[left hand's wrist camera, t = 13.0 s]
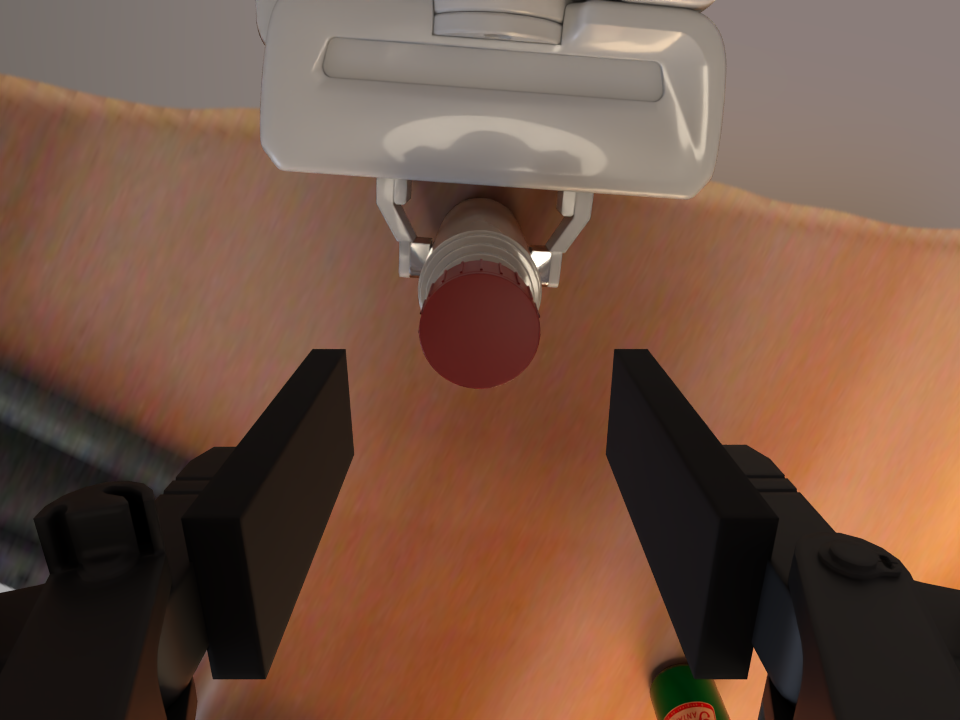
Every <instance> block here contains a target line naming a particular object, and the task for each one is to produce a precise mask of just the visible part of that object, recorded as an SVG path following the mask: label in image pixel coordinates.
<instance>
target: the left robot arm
mask: <svg viewBox="0 0 960 720" xmlns="http://www.w3.org/2000/svg"><path fill="white" fill-rule="evenodd" d="M353 456H354V446H353V434H352V422H351V409H350V397H349V385H348V372H347V360H346V349H312V351H311V352H310V353H309V354H308V356H307V357H306V358H305V360H304V361H303V362H302V363H301V365H300V366H299V367H298V369H297V370H296V371H295V372H294V374H293V375H292V376H291V378H290V379H289V380H288V381H287V383H286V384H285V385H284V386H283V388H282V389H281V390H280V392H279V393H278V394H277V395H276V397H275V398H274V399H273V401H272V402H271V403H270V404H269V406H268V407H267V408H266V410H265V411H264V412H263V413H262V415H261V416H260V417H259V419H258V420H257V421H256V422H255V424H254V425H253V426H252V428H251V429H250V430H249V431H248V433H247V434H246V435H245V437H244V438H243V439H242V440H241V442H240V443H239V444H238V445H237V447H213V448H211V449H210V450H208V451H206V452H205V453H203V454H201V455H200V456H198V457H196V458H194V459H193V460H191V461H190V462H189V463H188V464H187V465H186V466H185V468H184V469H183V470H182V471H181V472H180V473H179V474H178V475H177V477H176V481H172V482H171V483H170V484H169V486H168V487H167V488H166V489H165V490H164V494H163V495H160V496H159V497H158V498H157V499H156V500H155V498H154V494H153V490H152V489H150V488H149V487H148V486H146V485H145V484H143V483H137V482H132V481H117V482H106V483H101V484H97V485H92V486H88V487H84V488H82V489H79V490H76V491H74V492H71V493H69V494H66V495H64V496H62V497H60V498H58V499H57V500H55V501H53V502H52V503H50V504H48V505H47V506H45V507H44V508H43V509H42V510H41V511H40V512H39V513H38V514H37V515H36V516H35V518H34V522H35V526H36V529H37V532H38V536H39V539H40V542H41V546H42V549H43V552H44V556H45V559H46V562H47V566H48V569H49V572H50V575H49V577H48V579H47V581H46V583H45V584H41V585H37V586H32V587H27V588H22V589H17V590H13V591H8V592H3V593H0V720H195V716H196V709H197V695H196V689H195V684H194V679H193V674H194V673H195V671H196V669H197V667H198V665H199V663H200V661H201V659H202V657H203V656H204V654H205V652H206V650H207V652H208V657H209V662H210V667H211V672H212V677H213V679H266V677H267V675H268V672H269V670H270V667H271V664H272V662H273V659H274V657H275V654H276V652H277V649H278V647H279V644H280V642H281V639H282V636H283V634H284V631H285V629H286V626H287V624H288V621H289V619H290V616H291V614H292V611H293V609H294V606H295V603H296V601H297V598H298V596H299V593H300V591H301V588H302V586H303V583H304V581H305V578H306V575H307V573H308V570H309V568H310V565H311V563H312V560H313V558H314V555H315V553H316V550H317V548H318V545H319V542H320V540H321V537H322V535H323V532H324V530H325V527H326V525H327V522H328V520H329V517H330V514H331V512H332V509H333V507H334V504H335V502H336V499H337V497H338V494H339V492H340V489H341V487H342V484H343V481H344V479H345V476H346V474H347V471H348V469H349V466H350V464H351V461H352V459H353ZM606 456H607V459H608V461H609V464H610V466H611V469H612V471H613V474H614V476H615V479H616V481H617V484H618V487H619V489H620V492H621V494H622V497H623V499H624V502H625V504H626V507H627V509H628V512H629V514H630V517H631V520H632V522H633V525H634V527H635V530H636V532H637V535H638V537H639V540H640V542H641V545H642V548H643V550H644V553H645V555H646V558H647V560H648V563H649V565H650V568H651V570H652V573H653V575H654V578H655V581H656V583H657V586H658V588H659V591H660V593H661V596H662V598H663V601H664V603H665V606H666V609H667V611H668V614H669V616H670V619H671V621H672V624H673V626H674V629H675V631H676V634H677V636H678V639H679V642H680V644H681V647H682V649H683V652H684V654H685V657H686V659H687V662H688V664H689V667H690V670H691V672H692V675H693V677H694V679H747V677H748V672H749V667H750V662H751V657H752V652H753V647H754V649H755V651H756V652H757V654H758V656H759V658H760V660H761V662H762V664H763V666H764V667H765V669H766V671H767V673H768V675H767V679H766V684H765V689H764V693H763V698H762V702H761V707H760V712H759V716H758V720H960V590H956V589H952V588H947V587H942V586H937V585H932V584H927V583H922V582H918V581H914V580H913V578H912V576H911V574H910V573H909V571H908V570H907V569H906V568H905V566H904V565H903V564H902V563H901V561H900V560H899V559H897V558H896V557H894V556H893V555H892V554H890V553H889V552H887V551H886V550H884V549H883V548H881V547H879V546H877V545H875V544H872V543H870V542H868V541H866V540H864V539H861V538H857V537H854V536H850V535H846V534H842V533H836V532H835V531H834V530H833V529H832V528H831V527H830V525H829V524H828V523H827V522H826V521H825V520H824V519H823V518H822V517H821V515H820V514H819V513H818V512H817V511H816V510H815V509H814V508H813V506H812V505H811V504H810V503H809V502H808V501H807V500H806V499H805V497H804V496H803V495H802V494H801V493H800V492H797V489H796V487H795V486H794V485H793V484H792V483H791V482H790V481H789V480H788V478H785V475H784V474H783V473H782V472H781V471H780V470H779V468H778V467H777V466H776V465H775V464H774V463H773V462H772V461H771V459H769V458H768V457H766V456H764V455H763V454H761V453H759V452H757V451H756V450H754V449H752V448H751V447H749V446H747V445H722V444H721V443H720V442H719V440H718V439H717V438H716V437H715V435H714V434H713V433H712V431H711V430H710V429H709V428H708V426H707V425H706V424H705V422H704V421H703V420H702V419H701V417H700V416H699V415H698V413H697V412H696V411H695V410H694V408H693V407H692V406H691V404H690V403H689V402H688V401H687V399H686V398H685V397H684V395H683V394H682V393H681V392H680V390H679V389H678V388H677V386H676V385H675V384H674V383H673V381H672V380H671V379H670V378H669V376H668V375H667V374H666V372H665V371H664V370H663V369H662V367H661V366H660V365H659V363H658V362H657V361H656V360H655V358H654V357H653V356H652V354H651V353H650V352H649V351H648V349H614V360H613V372H612V385H611V397H610V409H609V422H608V434H607V446H606Z"/></svg>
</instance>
